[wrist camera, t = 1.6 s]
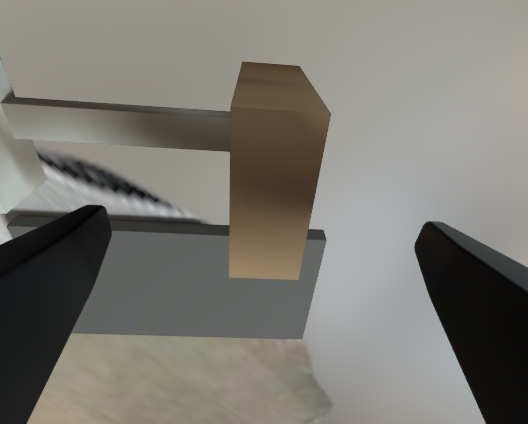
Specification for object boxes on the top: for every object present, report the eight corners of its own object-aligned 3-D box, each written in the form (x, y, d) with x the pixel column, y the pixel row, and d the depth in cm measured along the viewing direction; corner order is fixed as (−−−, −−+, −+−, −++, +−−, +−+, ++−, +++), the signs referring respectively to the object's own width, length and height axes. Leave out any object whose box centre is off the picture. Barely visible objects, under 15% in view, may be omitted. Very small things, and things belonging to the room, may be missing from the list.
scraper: (283, 192, 17) (296, 289, 11) (31, 178, 16) (-94, 275, 10) (300, 53, 13) (335, 93, 7) (-32, 27, 12) (-289, 47, 6)
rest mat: (300, 327, 24) (302, 339, 23) (69, 321, 23) (62, 332, 22) (323, 229, 18) (326, 240, 18) (18, 215, 18) (6, 225, 17)
